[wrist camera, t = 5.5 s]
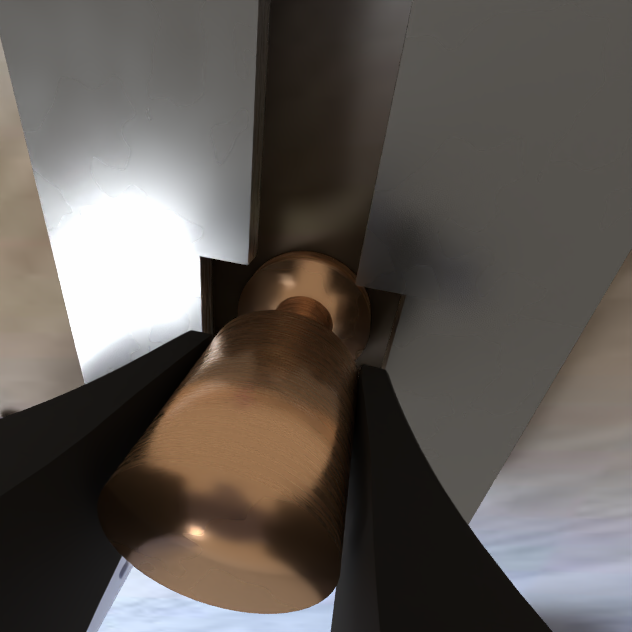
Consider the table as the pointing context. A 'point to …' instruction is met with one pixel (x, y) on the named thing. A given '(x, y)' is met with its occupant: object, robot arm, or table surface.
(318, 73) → the table surface
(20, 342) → the table surface
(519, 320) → the keyhole bracket
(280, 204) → the table surface
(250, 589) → the copper peg
